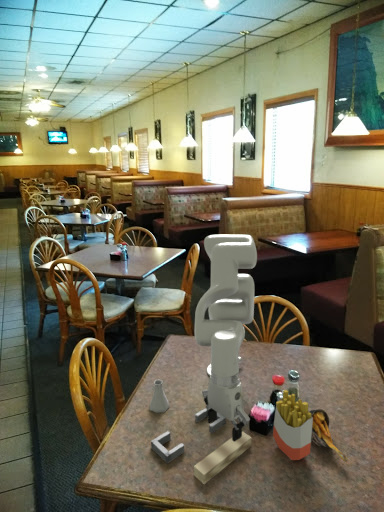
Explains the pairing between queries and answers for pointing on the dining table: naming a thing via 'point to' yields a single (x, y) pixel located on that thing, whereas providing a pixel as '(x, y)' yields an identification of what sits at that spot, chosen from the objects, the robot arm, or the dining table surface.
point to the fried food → (323, 431)
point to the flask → (159, 398)
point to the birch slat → (221, 458)
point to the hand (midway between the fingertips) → (224, 429)
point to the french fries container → (293, 426)
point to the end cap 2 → (215, 425)
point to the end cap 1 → (163, 452)
